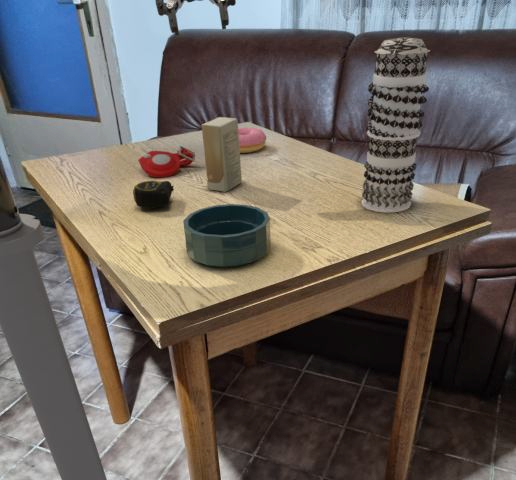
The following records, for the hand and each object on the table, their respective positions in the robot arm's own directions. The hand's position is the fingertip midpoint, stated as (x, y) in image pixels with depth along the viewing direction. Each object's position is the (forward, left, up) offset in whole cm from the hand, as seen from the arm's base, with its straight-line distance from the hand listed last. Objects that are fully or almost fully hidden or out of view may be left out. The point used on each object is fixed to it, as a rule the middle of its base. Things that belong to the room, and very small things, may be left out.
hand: (200, 29), depth 92 cm
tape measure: (-11, -14, -26) cm, 32 cm away
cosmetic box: (+2, -7, -26) cm, 27 cm away
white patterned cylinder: (+29, -24, -26) cm, 46 cm away
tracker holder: (-9, +7, -26) cm, 29 cm away
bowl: (0, -37, -26) cm, 45 cm away
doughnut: (+9, +20, -26) cm, 34 cm away
